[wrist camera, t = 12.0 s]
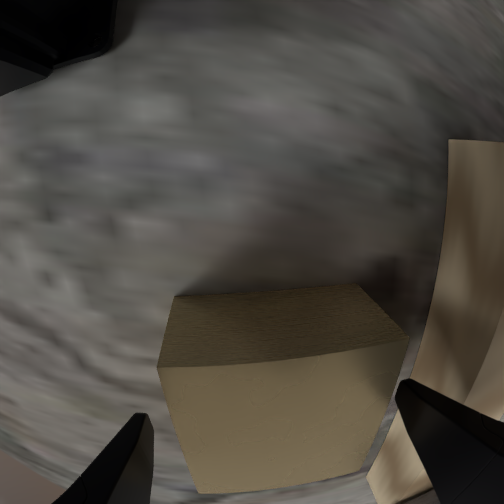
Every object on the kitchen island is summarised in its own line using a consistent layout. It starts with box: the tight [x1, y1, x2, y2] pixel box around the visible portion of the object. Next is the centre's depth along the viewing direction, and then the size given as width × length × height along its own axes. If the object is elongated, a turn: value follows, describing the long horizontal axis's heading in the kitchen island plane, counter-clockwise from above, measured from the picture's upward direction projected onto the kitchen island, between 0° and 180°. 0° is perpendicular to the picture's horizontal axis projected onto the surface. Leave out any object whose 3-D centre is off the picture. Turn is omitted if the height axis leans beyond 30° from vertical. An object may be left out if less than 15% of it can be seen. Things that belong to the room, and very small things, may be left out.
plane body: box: [366, 139, 504, 504], centre depth 11 cm, size 22×6×4 cm, turn 2°
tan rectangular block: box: [157, 283, 410, 494], centre depth 10 cm, size 7×6×4 cm
